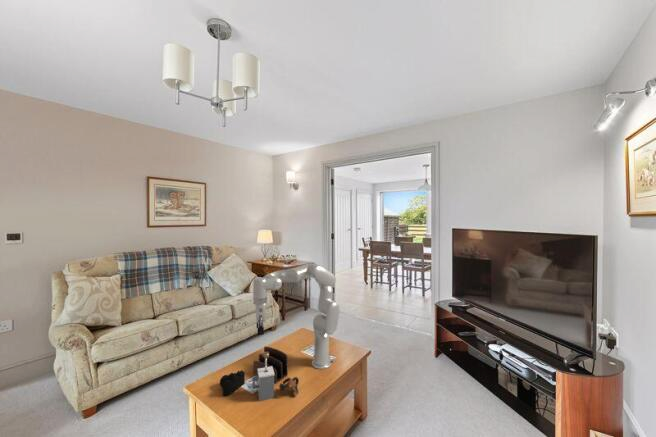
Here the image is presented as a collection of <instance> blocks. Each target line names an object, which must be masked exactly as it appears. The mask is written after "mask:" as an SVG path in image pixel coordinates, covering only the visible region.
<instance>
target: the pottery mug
mask: <svg viewBox="0 0 656 437" xmlns="http://www.w3.org/2000/svg"><path fill="white" fill-rule="evenodd" d="M299 381H300V379H299V377H297V376H294V377H293V378H291V377H287V378H286V379H285V378H284V379H283V381H282V382H281V383H280V384H279V386H278V388H279V392H280V393H281V392H282V393H285V390H286V391H290V387H292V388H293V389H294V392H292V394H293V397H294V398H295V397H297V395H299V389H298V385H299V384H300V383H299Z"/></svg>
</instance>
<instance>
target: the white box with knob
mask: <svg viewBox="0 0 656 437" xmlns="http://www.w3.org/2000/svg"><path fill="white" fill-rule="evenodd" d="M257 371H258V375H254V376H252V390H256V389H257V397H258V402H262V401H268V400H272V399H275V383H274V375H275V374H274V370H273V367H272V366H271V367H267V371H268V372H265V368H259V369H257ZM264 372H265V373H264ZM255 380H257V384H256V381H255Z"/></svg>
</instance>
